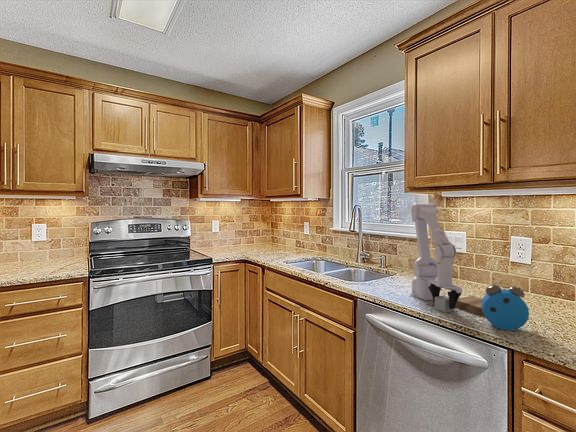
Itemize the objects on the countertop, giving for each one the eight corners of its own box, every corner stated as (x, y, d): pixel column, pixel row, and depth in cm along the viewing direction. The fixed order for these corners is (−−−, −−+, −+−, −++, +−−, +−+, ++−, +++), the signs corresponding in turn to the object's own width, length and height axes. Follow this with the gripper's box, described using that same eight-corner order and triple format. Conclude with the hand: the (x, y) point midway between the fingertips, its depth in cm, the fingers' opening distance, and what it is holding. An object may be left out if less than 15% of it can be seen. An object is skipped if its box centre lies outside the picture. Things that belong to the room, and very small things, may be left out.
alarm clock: (523, 327, 110) (525, 285, 109) (529, 334, 104) (530, 290, 103) (480, 321, 115) (481, 281, 114) (483, 328, 110) (484, 286, 109)
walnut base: (453, 306, 132) (453, 299, 132) (472, 302, 137) (472, 295, 137) (481, 315, 121) (481, 308, 121) (500, 311, 126) (500, 304, 126)
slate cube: (434, 308, 130) (434, 296, 130) (443, 307, 132) (443, 295, 132) (444, 312, 125) (445, 300, 125) (453, 310, 127) (453, 298, 127)
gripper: (423, 270, 133) (422, 301, 133) (453, 278, 120) (452, 312, 120) (435, 269, 136) (434, 299, 136) (466, 276, 122) (465, 310, 123)
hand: (444, 305), depth 128 cm, fingers open, 7 cm apart
